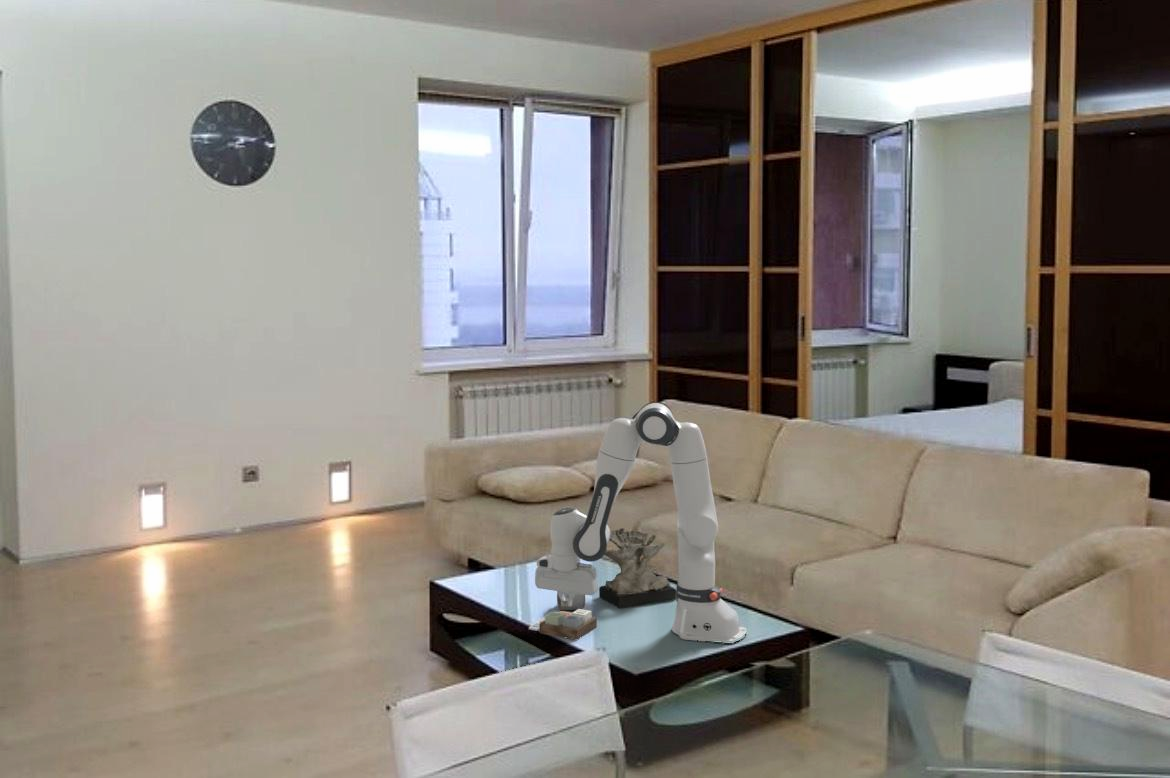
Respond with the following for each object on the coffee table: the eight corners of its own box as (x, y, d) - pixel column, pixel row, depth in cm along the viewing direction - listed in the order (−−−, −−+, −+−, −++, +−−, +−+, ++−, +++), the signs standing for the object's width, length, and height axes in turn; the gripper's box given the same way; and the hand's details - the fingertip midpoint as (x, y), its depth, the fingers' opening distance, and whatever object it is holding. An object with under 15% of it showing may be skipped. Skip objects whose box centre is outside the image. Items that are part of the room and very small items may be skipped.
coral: (609, 610, 369) (609, 544, 367) (581, 593, 387) (582, 530, 385) (677, 600, 380) (678, 536, 377) (647, 583, 398) (648, 522, 395)
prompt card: (552, 621, 358) (552, 618, 358) (536, 630, 349) (536, 628, 349) (544, 619, 360) (544, 617, 359) (528, 629, 351) (528, 626, 351)
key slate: (582, 627, 347) (582, 616, 346) (575, 632, 343) (575, 620, 343) (569, 625, 349) (569, 613, 348) (562, 629, 345) (562, 618, 345)
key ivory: (591, 622, 352) (591, 610, 352) (584, 626, 348) (584, 614, 348) (578, 619, 354) (578, 608, 354) (571, 624, 350) (571, 612, 350)
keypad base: (596, 627, 353) (596, 617, 353) (577, 640, 342) (577, 630, 341) (559, 620, 359) (559, 611, 358) (539, 633, 347) (539, 623, 347)
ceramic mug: (586, 612, 367) (586, 588, 367) (561, 613, 366) (561, 590, 365) (578, 602, 378) (578, 579, 377) (554, 604, 376) (554, 581, 375)
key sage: (564, 624, 350) (564, 613, 349) (557, 629, 346) (557, 617, 345) (551, 622, 352) (552, 610, 351) (544, 626, 348) (544, 614, 347)
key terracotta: (574, 624, 355) (574, 612, 355) (567, 628, 351) (567, 616, 351) (561, 621, 357) (561, 610, 357) (554, 626, 353) (554, 614, 353)
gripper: (600, 562, 350) (601, 606, 351) (542, 555, 359) (543, 598, 361) (591, 567, 344) (592, 612, 346) (531, 560, 354) (533, 604, 355)
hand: (566, 605), depth 353 cm, fingers closed
